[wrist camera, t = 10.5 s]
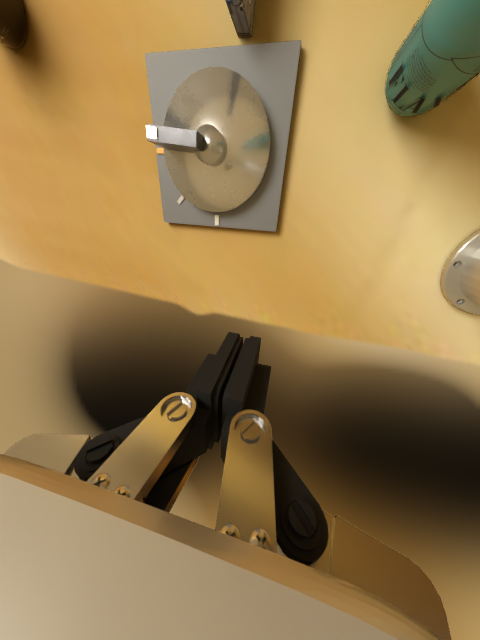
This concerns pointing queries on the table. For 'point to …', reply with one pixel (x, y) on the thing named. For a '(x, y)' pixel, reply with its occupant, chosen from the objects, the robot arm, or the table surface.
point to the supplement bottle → (12, 23)
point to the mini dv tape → (242, 16)
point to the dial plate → (277, 99)
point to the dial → (215, 139)
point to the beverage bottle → (435, 57)
